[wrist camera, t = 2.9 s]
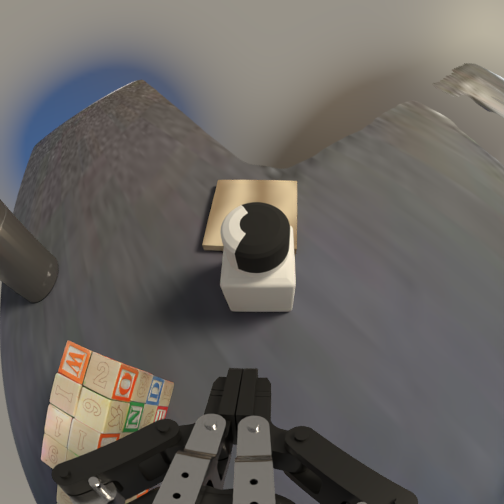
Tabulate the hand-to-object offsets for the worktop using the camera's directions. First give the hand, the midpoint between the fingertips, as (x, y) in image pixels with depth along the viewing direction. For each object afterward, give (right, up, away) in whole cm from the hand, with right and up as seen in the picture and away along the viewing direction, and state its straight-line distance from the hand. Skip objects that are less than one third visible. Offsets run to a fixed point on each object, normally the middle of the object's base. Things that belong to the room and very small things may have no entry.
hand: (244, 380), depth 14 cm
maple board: (+1, +12, +25) cm, 28 cm away
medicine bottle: (+2, +3, +20) cm, 20 cm away
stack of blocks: (-13, -16, +10) cm, 23 cm away
